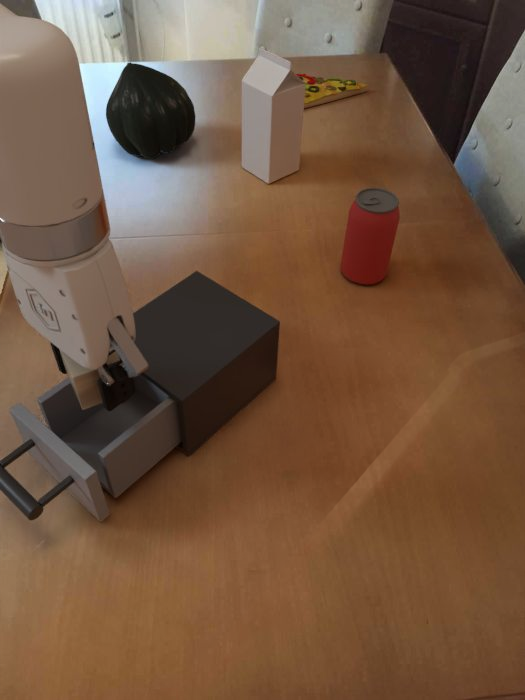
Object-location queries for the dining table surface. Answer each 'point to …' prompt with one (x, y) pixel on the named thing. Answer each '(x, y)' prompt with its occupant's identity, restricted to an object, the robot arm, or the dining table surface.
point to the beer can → (370, 235)
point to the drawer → (92, 445)
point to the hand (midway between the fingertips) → (97, 381)
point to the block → (85, 380)
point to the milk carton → (271, 117)
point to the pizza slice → (328, 89)
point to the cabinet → (206, 353)
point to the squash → (149, 112)
